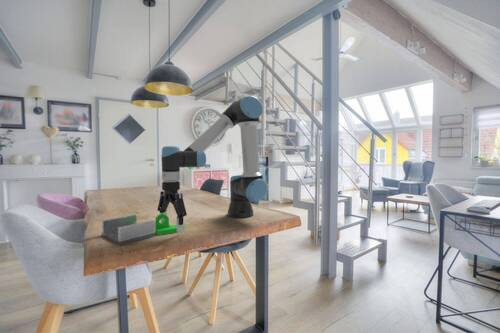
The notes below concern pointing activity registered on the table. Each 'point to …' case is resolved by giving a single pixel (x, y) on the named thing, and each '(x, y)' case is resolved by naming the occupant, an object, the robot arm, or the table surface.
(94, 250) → the table surface
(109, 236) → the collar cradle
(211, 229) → the table surface
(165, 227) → the mechanical part
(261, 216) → the table surface
